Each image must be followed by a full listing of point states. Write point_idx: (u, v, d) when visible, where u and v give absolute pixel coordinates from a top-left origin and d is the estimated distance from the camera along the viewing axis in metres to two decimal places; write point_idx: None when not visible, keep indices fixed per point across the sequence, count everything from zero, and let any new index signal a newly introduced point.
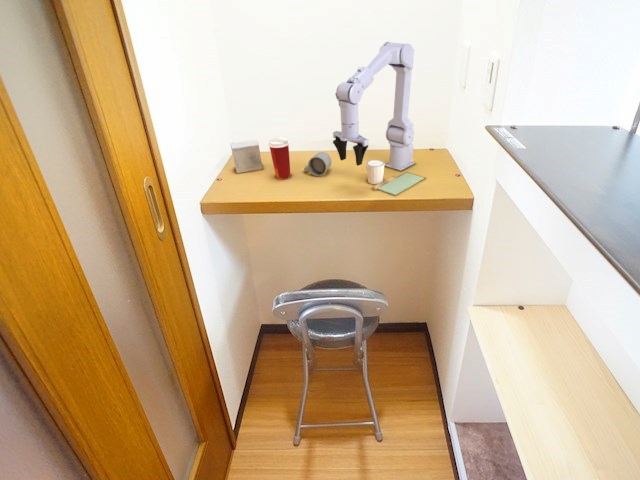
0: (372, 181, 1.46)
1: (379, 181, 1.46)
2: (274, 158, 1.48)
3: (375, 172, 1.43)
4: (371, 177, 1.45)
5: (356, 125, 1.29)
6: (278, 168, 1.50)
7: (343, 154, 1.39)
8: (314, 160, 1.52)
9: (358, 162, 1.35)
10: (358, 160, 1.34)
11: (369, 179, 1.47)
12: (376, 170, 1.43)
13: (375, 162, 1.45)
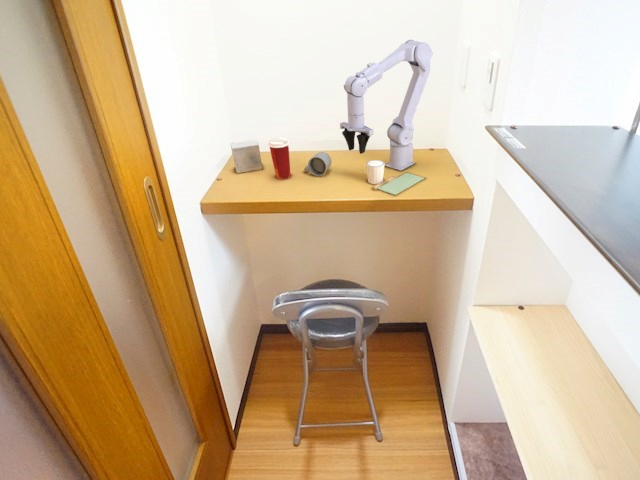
0: (372, 181, 1.46)
1: (379, 181, 1.46)
2: (274, 158, 1.48)
3: (375, 172, 1.43)
4: (371, 177, 1.45)
5: (362, 116, 1.39)
6: (278, 168, 1.50)
7: (351, 144, 1.48)
8: (314, 160, 1.52)
9: (361, 150, 1.45)
10: (361, 148, 1.45)
11: (369, 179, 1.47)
12: (376, 170, 1.43)
13: (375, 162, 1.45)
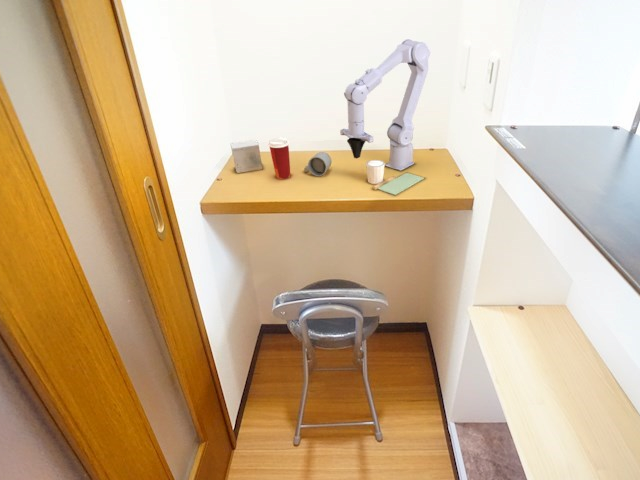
0: (372, 181, 1.46)
1: (379, 181, 1.46)
2: (274, 158, 1.48)
3: (375, 172, 1.43)
4: (371, 177, 1.45)
5: (362, 123, 1.41)
6: (278, 168, 1.50)
7: None
8: (314, 160, 1.52)
9: (356, 155, 1.48)
10: (356, 153, 1.48)
11: (369, 179, 1.47)
12: (376, 170, 1.43)
13: (375, 162, 1.45)
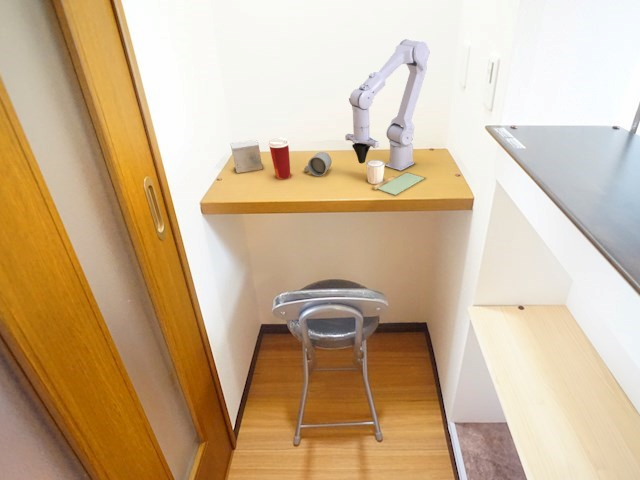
0: (372, 181, 1.46)
1: (379, 181, 1.46)
2: (274, 158, 1.48)
3: (375, 172, 1.43)
4: (371, 177, 1.45)
5: (367, 128, 1.40)
6: (278, 168, 1.50)
7: None
8: (314, 160, 1.52)
9: (361, 160, 1.48)
10: (361, 158, 1.47)
11: (369, 179, 1.47)
12: (376, 170, 1.43)
13: (375, 162, 1.45)
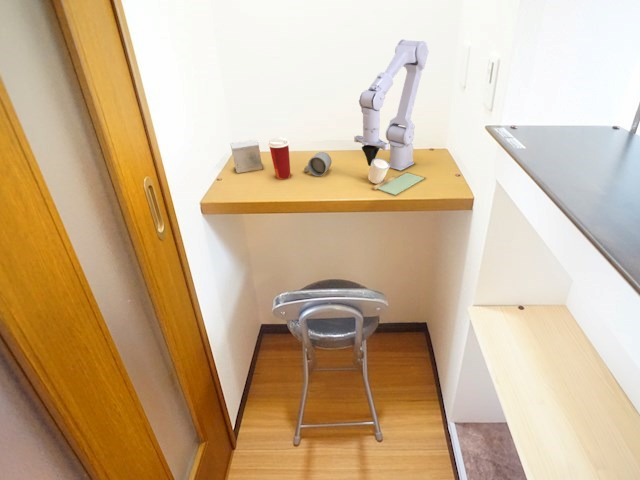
0: (373, 180, 1.45)
1: (380, 182, 1.46)
2: (274, 158, 1.48)
3: (379, 174, 1.42)
4: (373, 177, 1.44)
5: (377, 130, 1.37)
6: (278, 168, 1.50)
7: (371, 159, 1.45)
8: (314, 160, 1.52)
9: (370, 163, 1.45)
10: (370, 161, 1.44)
11: (371, 177, 1.45)
12: (381, 172, 1.42)
13: (380, 162, 1.43)
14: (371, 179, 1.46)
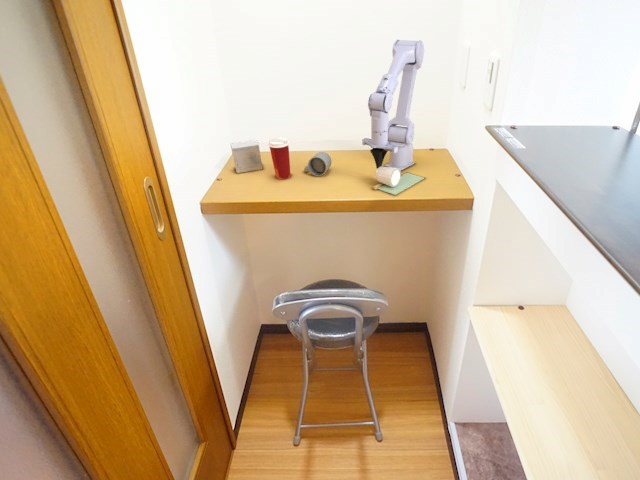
0: (377, 179, 1.44)
1: None
2: (274, 158, 1.48)
3: (386, 184, 1.42)
4: (380, 179, 1.42)
5: (386, 133, 1.35)
6: (278, 168, 1.50)
7: (379, 162, 1.43)
8: (314, 160, 1.52)
9: (378, 165, 1.43)
10: (378, 163, 1.42)
11: (378, 176, 1.43)
12: (388, 185, 1.42)
13: (396, 175, 1.42)
14: (377, 177, 1.43)
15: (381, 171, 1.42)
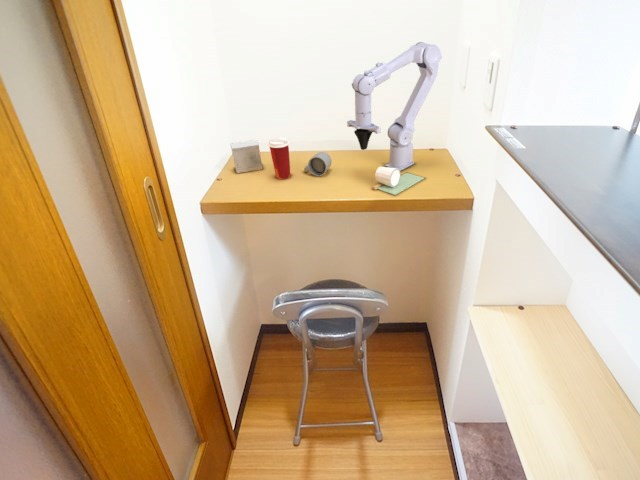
0: (377, 180, 1.44)
1: None
2: (274, 158, 1.48)
3: (386, 184, 1.42)
4: (380, 180, 1.42)
5: (369, 114, 1.41)
6: (278, 168, 1.50)
7: None
8: (314, 160, 1.52)
9: (363, 146, 1.48)
10: (363, 145, 1.48)
11: (378, 176, 1.43)
12: (388, 185, 1.42)
13: (396, 175, 1.41)
14: (377, 177, 1.43)
15: (380, 172, 1.41)
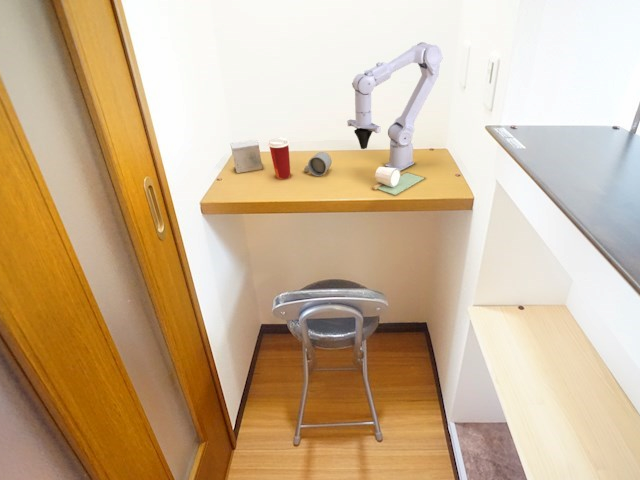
0: (377, 180, 1.44)
1: None
2: (274, 158, 1.48)
3: (386, 184, 1.42)
4: (380, 180, 1.42)
5: (369, 113, 1.41)
6: (278, 168, 1.50)
7: None
8: (314, 160, 1.52)
9: (363, 146, 1.49)
10: (363, 144, 1.48)
11: (378, 176, 1.43)
12: (388, 185, 1.42)
13: (396, 175, 1.41)
14: (377, 177, 1.43)
15: (380, 172, 1.41)
